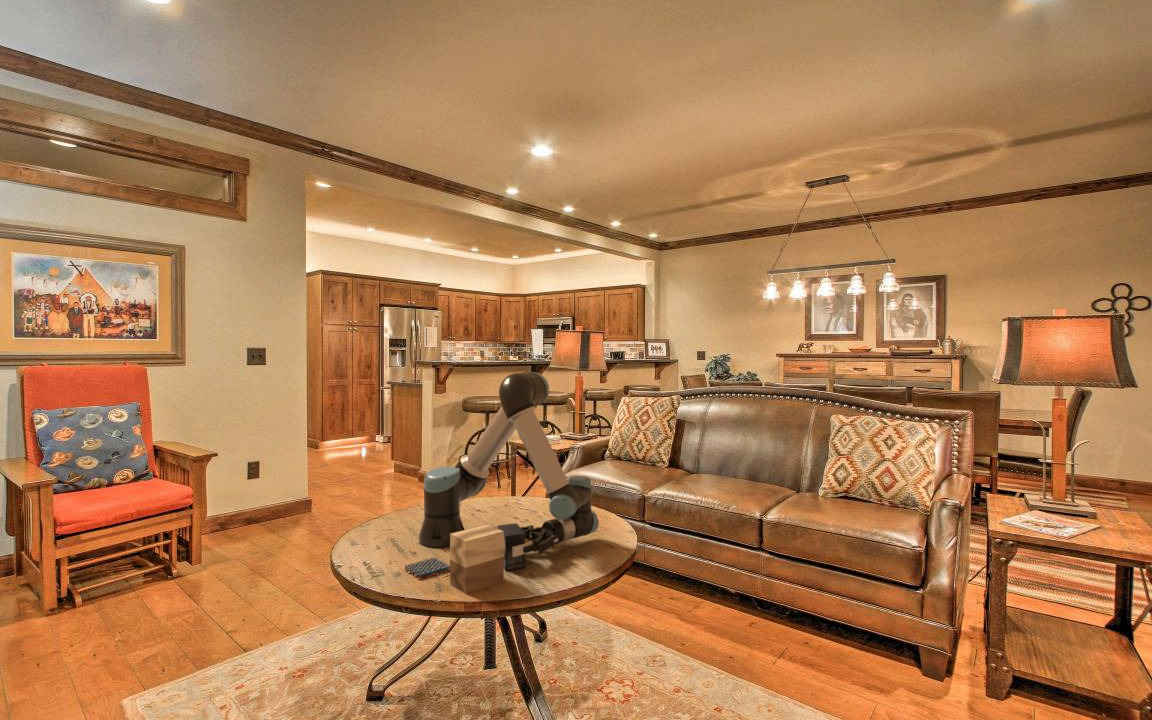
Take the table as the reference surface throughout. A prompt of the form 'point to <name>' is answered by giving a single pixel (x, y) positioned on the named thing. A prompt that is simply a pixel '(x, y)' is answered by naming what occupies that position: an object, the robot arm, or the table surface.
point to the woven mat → (427, 568)
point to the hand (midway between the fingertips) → (500, 546)
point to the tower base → (476, 575)
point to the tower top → (476, 545)
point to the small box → (511, 539)
